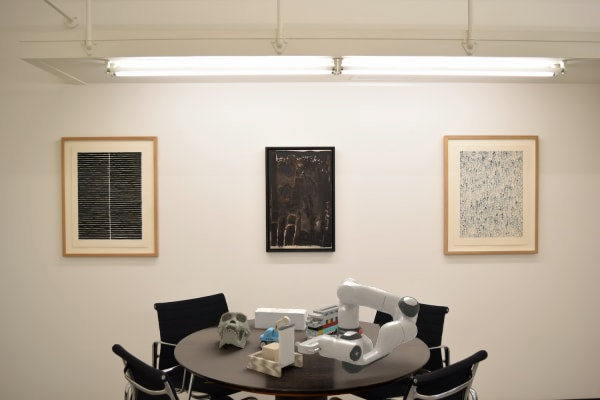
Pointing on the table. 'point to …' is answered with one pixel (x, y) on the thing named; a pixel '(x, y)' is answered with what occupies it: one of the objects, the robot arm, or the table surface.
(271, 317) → the long white block
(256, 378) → the table surface
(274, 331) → the toy excavator
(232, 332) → the skull
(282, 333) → the trolley
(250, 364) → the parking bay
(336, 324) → the toy vehicle
